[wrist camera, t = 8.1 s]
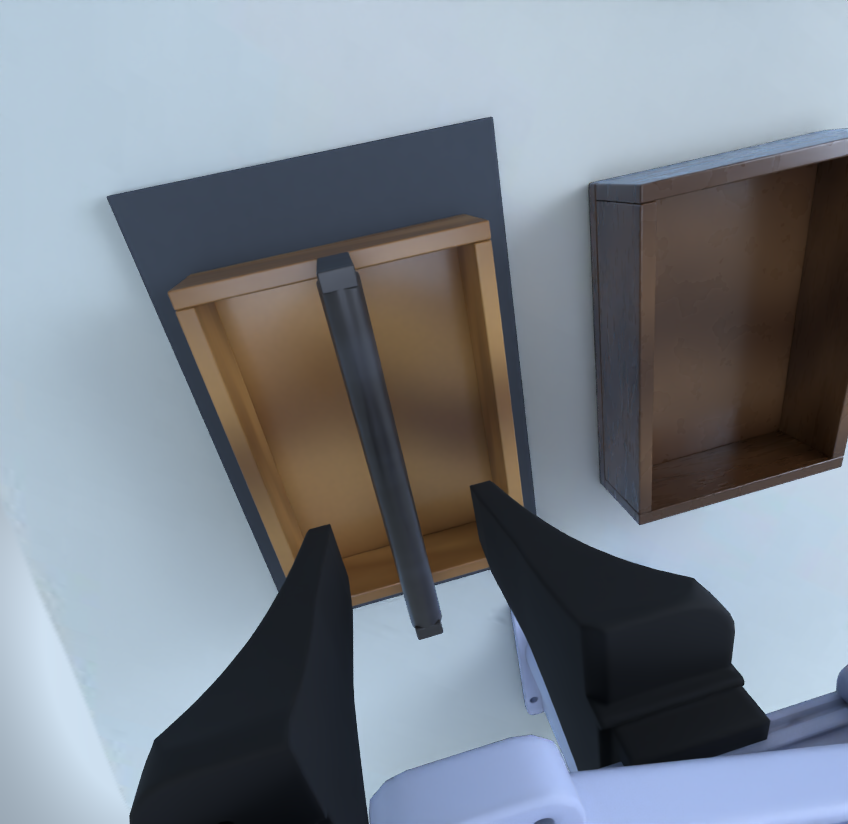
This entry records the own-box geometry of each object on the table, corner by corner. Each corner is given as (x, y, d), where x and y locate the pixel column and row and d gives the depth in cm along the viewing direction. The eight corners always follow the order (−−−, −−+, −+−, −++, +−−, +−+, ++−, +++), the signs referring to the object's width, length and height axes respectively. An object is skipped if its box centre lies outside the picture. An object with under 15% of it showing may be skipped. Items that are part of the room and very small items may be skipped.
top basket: (507, 515, 25) (555, 600, 20) (305, 571, 24) (301, 675, 19) (464, 213, 18) (519, 226, 13) (189, 274, 18) (138, 312, 13)
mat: (538, 550, 27) (541, 555, 26) (293, 620, 25) (293, 626, 25) (489, 117, 18) (492, 116, 17) (110, 196, 17) (105, 196, 16)
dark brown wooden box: (779, 432, 26) (841, 466, 23) (600, 483, 25) (639, 525, 22) (824, 130, 20) (917, 121, 17) (588, 183, 19) (640, 184, 16)
